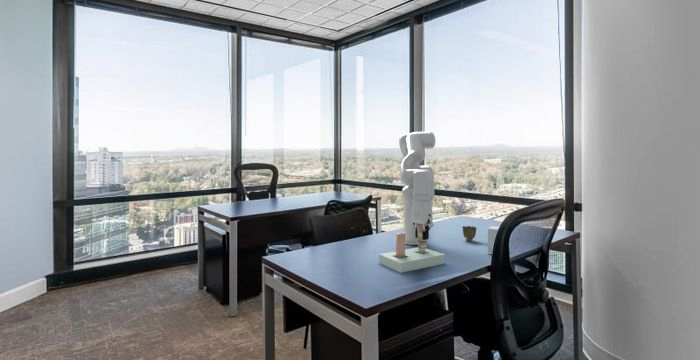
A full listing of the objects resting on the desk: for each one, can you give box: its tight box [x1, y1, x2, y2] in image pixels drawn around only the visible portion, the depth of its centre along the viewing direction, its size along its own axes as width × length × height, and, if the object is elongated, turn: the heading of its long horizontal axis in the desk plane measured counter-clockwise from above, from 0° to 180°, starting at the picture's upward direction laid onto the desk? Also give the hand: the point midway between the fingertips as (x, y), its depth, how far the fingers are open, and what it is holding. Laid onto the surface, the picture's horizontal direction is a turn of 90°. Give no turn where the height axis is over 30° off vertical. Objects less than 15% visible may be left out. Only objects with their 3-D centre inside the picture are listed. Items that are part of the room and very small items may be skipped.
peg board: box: [378, 246, 446, 274], centre depth 166 cm, size 16×24×5 cm, turn 119°
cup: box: [462, 225, 477, 243], centre depth 209 cm, size 8×7×8 cm
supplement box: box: [487, 225, 500, 255], centre depth 183 cm, size 7×7×13 cm
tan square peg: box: [395, 232, 406, 259], centre depth 163 cm, size 4×4×14 cm
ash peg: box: [417, 223, 428, 251], centre depth 168 cm, size 4×4×14 cm
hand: (422, 238), depth 168 cm, fingers closed on ash peg, 4 cm apart
